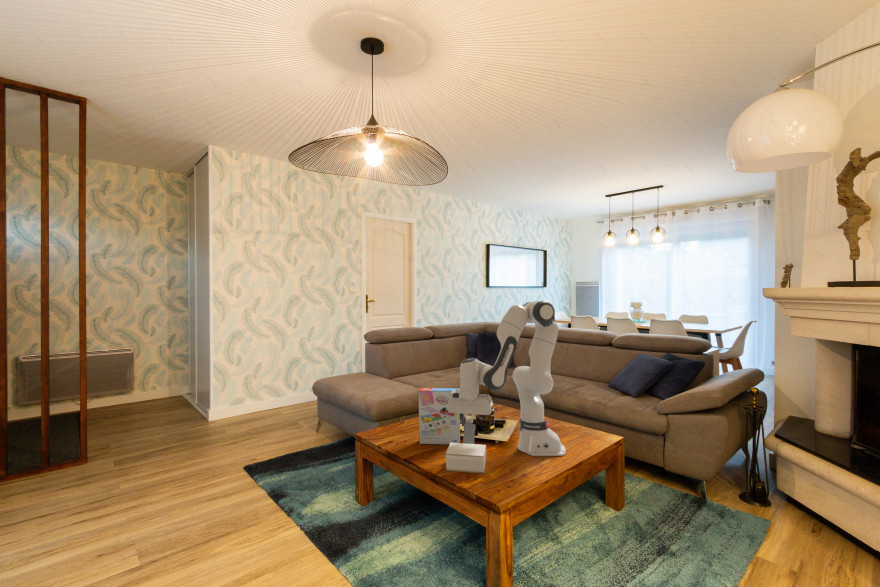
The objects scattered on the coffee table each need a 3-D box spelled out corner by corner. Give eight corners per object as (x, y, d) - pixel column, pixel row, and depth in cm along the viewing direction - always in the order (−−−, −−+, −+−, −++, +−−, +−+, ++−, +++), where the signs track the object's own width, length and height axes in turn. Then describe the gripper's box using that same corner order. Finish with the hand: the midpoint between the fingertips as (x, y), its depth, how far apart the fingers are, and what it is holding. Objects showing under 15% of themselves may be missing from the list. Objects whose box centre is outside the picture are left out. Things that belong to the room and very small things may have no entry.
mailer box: (485, 461, 182) (485, 446, 182) (483, 473, 171) (483, 456, 171) (450, 459, 186) (450, 443, 186) (446, 470, 174) (446, 454, 174)
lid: (487, 443, 190) (487, 424, 190) (483, 461, 170) (483, 440, 170) (453, 441, 193) (453, 422, 193) (445, 458, 173) (445, 437, 173)
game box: (460, 441, 208) (459, 388, 207) (459, 445, 202) (459, 390, 202) (420, 440, 210) (419, 387, 210) (418, 444, 204) (417, 390, 204)
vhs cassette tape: (450, 422, 238) (450, 405, 238) (455, 421, 239) (455, 405, 238) (461, 432, 220) (461, 414, 220) (466, 432, 221) (466, 413, 221)
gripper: (492, 392, 191) (492, 422, 191) (449, 390, 195) (449, 419, 195) (491, 396, 184) (491, 426, 185) (446, 394, 188) (447, 423, 188)
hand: (469, 422), depth 190 cm, fingers closed
